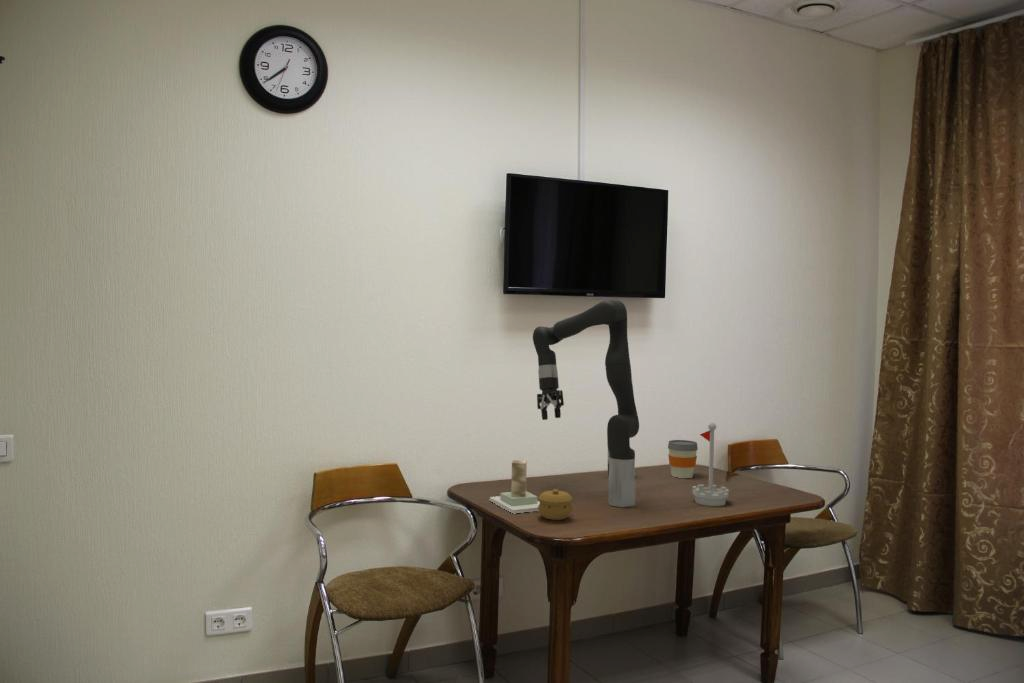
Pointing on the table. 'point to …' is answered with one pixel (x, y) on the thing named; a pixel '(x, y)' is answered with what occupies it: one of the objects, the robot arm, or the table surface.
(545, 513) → the pot
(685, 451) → the reusable coffee cup
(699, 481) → the table surface
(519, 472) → the birch column
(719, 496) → the flag stand
